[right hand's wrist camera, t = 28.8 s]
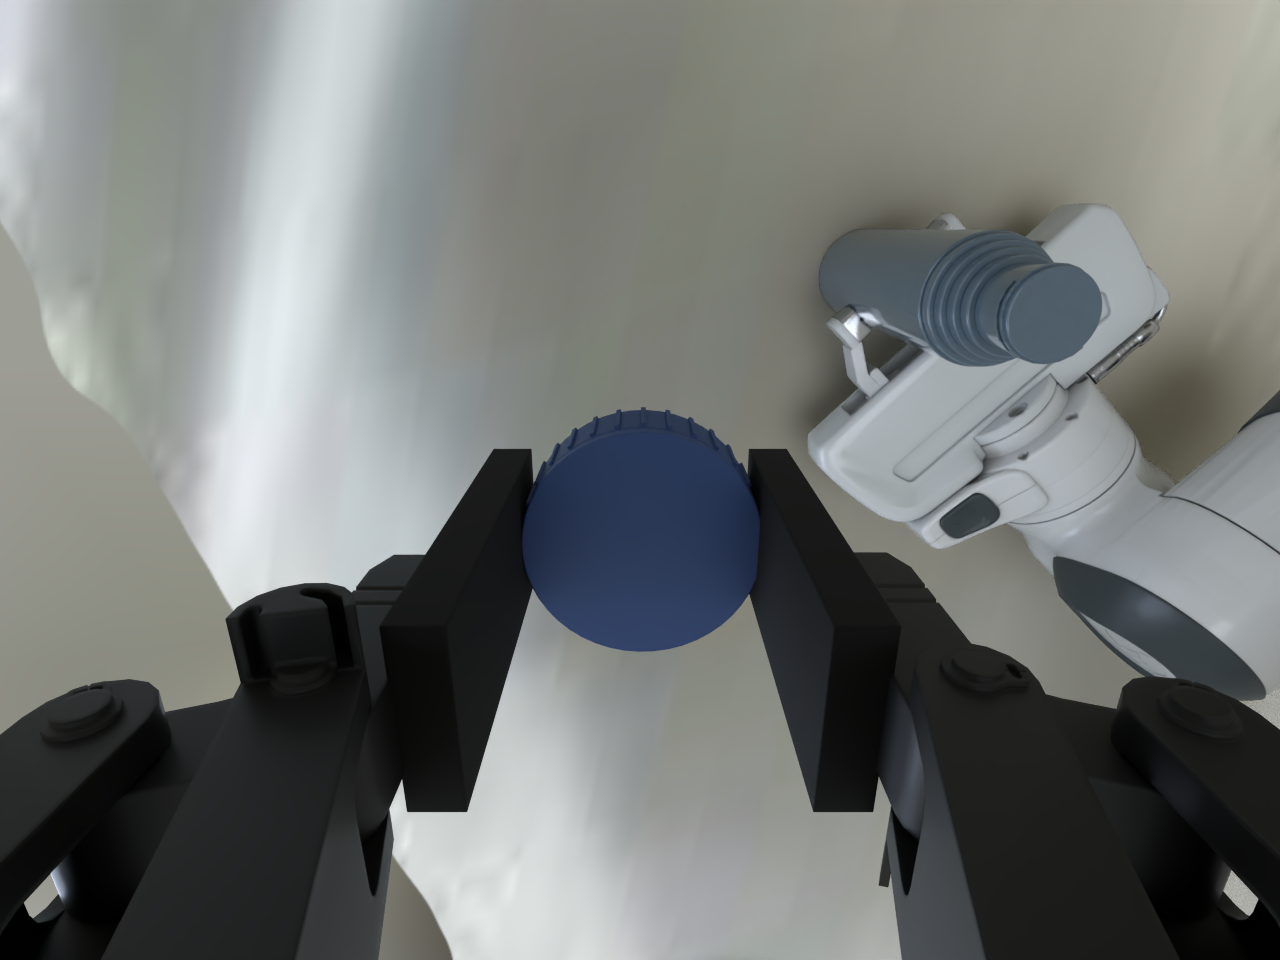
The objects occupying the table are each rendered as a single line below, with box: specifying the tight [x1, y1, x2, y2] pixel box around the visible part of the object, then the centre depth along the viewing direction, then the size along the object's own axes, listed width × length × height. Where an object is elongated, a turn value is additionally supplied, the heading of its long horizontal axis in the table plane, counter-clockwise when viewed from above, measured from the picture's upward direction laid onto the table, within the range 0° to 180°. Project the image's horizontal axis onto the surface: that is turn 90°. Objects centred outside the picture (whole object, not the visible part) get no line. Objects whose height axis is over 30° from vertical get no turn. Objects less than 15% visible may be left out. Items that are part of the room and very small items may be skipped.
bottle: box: [819, 229, 1102, 367], centre depth 34 cm, size 6×6×22 cm
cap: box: [522, 407, 760, 652], centre depth 14 cm, size 5×5×2 cm
